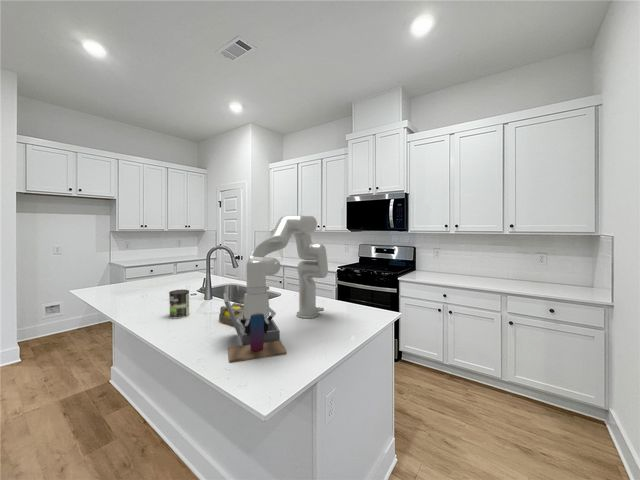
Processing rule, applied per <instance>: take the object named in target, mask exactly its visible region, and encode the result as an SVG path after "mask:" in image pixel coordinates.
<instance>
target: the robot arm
mask: <svg viewBox="0 0 640 480" xmlns="http://www.w3.org/2000/svg"><path fill="white" fill-rule="evenodd" d="M317 227H318V223H317V219H316V218H315V216H313V215H301V214H300V215H297V214H296V215H295V214H294V215H283V216H281V217H280V218H279V219H278V221H277V223H276V225H275V227H274V228H273V231H272V233H271V234H270V236H269V237H268V238H266V239H264V240H263V241H262V242H260V243H259V244H258V245H256V246H255V247H254V248H253V250H252V251H251V253H250V255H249V257H248V259H247V262H246V266H245V267H246V269H245V270H246V293H244V297H243V304H242V305H243V310H242V311H241V312H240V313H239V314H238V315H237V319H238V320H239V321H240V322H241V323H243V324H244V325H245V333H247V336H249V321H250V319H251V316H260V315H263V314H264V318H265V319H264V320H265V324H264V332H265V334H267V331H268V323H269V322H270V321H271V320H273V318H274V317H275V316H276V314H277V312H276V311H274V310H273V309H272V308H271V307H270V300H269V294H268V292H267V291H268V290H270V286H267V285H266V283H267V281H266V278H267V277H268V276H274V275H276V274H278V273H279V272H280V269H281V262H280V261H279V259H278V258H276V257H271V256H270V257H268V256H267V255H270V254H271V253H274V252H278V251H280V250H283V249H285V248H286V247H287V245H288V243H289V241H290V239H291V236H292V234H293V236H294V238H295V243H296V251H297V255H298V257H299V259H300V260H301V261H299V262H298V264H297V275H298V288H299V289H298V290H299V291H298V295H299V296H298V299H299V300H298V302H299V303H298V307H299V309H298V310H299V311H297V312H296V317H298V318H301V319H314V318H316V317H318V316H319V312H324V311H325V308H324V307H319V306H318V307H317V305H316V304H317V302H316V299H317V296H316V295H317V294H316V293H317V291H316V289H317V285H316V282H315V280H314V279H324V278H326V277H327V276H328V274H329V264H328V256H327V255H328V254H327V249H326V246H325V244H323V243H319V242H312V237H311V236H312V235H311V234H312V233H314V232H315V231H316V229H317ZM266 276H267V277H266ZM242 315H244V318H245V320H244V319H242V318H241V317H242Z"/></svg>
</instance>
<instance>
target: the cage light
mask: <svg viewBox="0 0 640 480" xmlns="http://www.w3.org/2000/svg"><path fill="white" fill-rule="evenodd" d="M243 305H244V304H242V303H240V302H239V303H235V302H234V303H232V304H231V306H232V309H233V311H234V313H235V316H236V318H237V315H238V314H239V313H240V312H241V311H242V310H243ZM219 311H220V313H219V315H218V316H219V317H218V319H219V323H221V324H223V325H226V326H230V327H232V328H235V327H234V324H233V322H232V319H231V317H230V315H229V312H228V310H227V307H226V305H222V306H221V307H220V309H219ZM241 318H242V319H244V320H245V318H244V315H242V317H241ZM239 322H240V321H239ZM240 323H241V322H240ZM239 327H240V325H239Z"/></svg>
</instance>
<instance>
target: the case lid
mask: <svg viewBox="0 0 640 480" xmlns="http://www.w3.org/2000/svg"><path fill="white" fill-rule="evenodd" d="M223 302H224V306H225V307H227V310H228V312H229V315H230V317H231V319H232V322H233V324H234V327H233V328H234V329H235V332H236V334H237V336H238V337H240V335H241V332H240V327H239V324H238V322H237V321H236V320H237V318H236V316H235V313H234V311H233V309H232V306H231V305H232V304H231V301H230V299H229V296H228V295H227V292H224V293H223Z"/></svg>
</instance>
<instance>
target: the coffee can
mask: <svg viewBox="0 0 640 480" xmlns="http://www.w3.org/2000/svg"><path fill="white" fill-rule="evenodd" d="M168 294H169V299H168V300H169V318H170V319H175V320H176V319H178V318H179V319H184V318H187V317H189V316H190V290H188V289H175V290H171V291H169V292H168Z"/></svg>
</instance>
